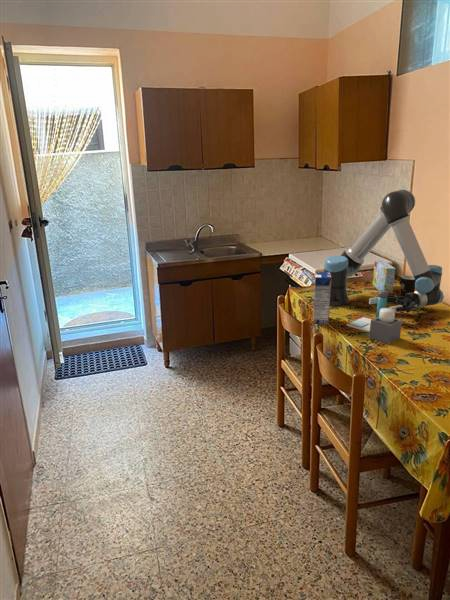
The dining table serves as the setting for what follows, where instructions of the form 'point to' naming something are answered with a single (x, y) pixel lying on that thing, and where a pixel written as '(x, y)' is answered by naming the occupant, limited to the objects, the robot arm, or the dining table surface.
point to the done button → (387, 315)
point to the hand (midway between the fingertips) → (379, 305)
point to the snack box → (383, 276)
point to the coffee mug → (407, 284)
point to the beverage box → (322, 298)
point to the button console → (385, 330)
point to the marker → (381, 300)
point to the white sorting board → (361, 324)
